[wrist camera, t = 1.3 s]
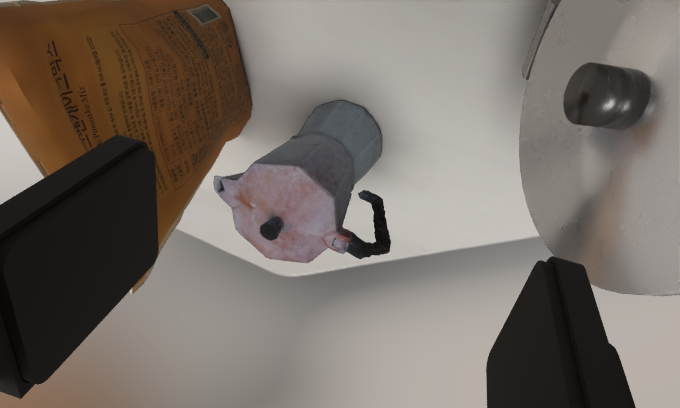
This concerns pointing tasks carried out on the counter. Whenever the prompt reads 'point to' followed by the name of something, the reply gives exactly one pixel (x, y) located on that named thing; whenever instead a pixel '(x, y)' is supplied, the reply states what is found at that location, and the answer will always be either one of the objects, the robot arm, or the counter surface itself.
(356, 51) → the counter surface
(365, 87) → the counter surface
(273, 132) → the counter surface
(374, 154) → the moka pot
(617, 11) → the lid
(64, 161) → the pancake mix bag
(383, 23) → the counter surface
